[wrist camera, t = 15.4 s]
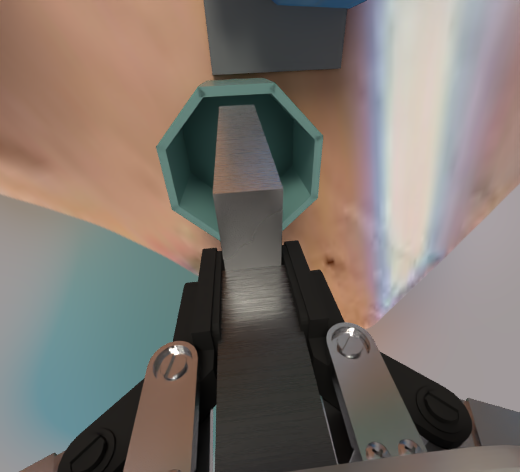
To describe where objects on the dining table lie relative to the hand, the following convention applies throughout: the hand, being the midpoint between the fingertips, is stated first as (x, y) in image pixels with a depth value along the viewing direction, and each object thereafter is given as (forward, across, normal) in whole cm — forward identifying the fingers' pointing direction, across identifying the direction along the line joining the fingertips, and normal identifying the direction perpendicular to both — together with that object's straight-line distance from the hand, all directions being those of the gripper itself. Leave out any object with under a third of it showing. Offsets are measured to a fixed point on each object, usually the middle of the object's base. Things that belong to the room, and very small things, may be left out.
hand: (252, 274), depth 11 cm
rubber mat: (+20, -4, -11) cm, 24 cm away
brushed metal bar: (+9, 0, -1) cm, 9 cm away
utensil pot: (+20, 0, 0) cm, 20 cm away
